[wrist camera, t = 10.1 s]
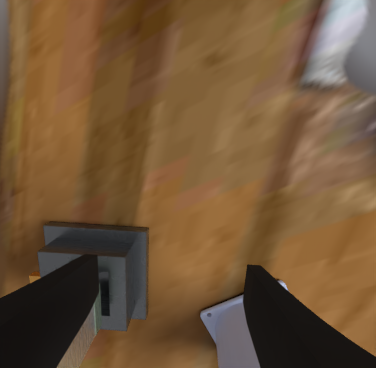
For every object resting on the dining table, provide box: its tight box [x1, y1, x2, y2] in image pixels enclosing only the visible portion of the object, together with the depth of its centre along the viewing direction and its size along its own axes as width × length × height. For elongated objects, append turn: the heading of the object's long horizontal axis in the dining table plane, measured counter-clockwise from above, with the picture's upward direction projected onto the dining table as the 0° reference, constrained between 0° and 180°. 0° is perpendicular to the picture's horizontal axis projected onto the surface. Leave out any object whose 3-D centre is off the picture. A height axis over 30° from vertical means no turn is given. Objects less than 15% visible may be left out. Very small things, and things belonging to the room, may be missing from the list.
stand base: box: [29, 222, 149, 331], centre depth 20 cm, size 10×10×4 cm
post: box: [57, 283, 102, 368], centre depth 14 cm, size 4×4×6 cm
